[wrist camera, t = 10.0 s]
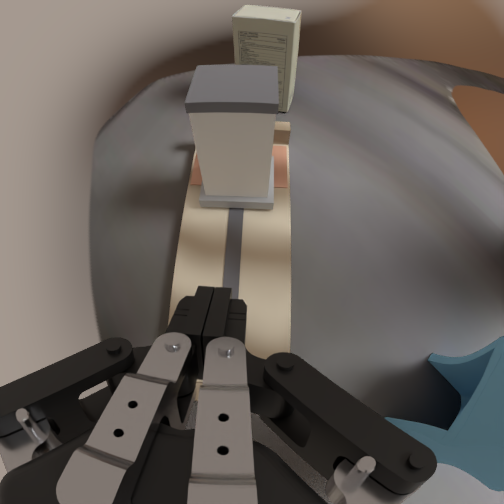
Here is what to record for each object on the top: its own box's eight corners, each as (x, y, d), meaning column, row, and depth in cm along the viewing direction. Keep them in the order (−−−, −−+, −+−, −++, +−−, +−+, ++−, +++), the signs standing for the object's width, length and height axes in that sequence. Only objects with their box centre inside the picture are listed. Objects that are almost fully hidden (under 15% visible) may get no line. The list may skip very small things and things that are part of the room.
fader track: (200, 143, 30) (196, 119, 26) (286, 146, 30) (289, 122, 26) (168, 391, 20) (154, 395, 17) (285, 400, 20) (292, 405, 17)
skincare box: (294, 94, 33) (305, 10, 22) (287, 114, 32) (299, 22, 20) (244, 85, 34) (244, 2, 23) (234, 104, 32) (231, 14, 21)
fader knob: (207, 161, 26) (192, 62, 16) (273, 163, 26) (283, 63, 16) (200, 206, 25) (176, 107, 15) (272, 209, 24) (286, 108, 15)
